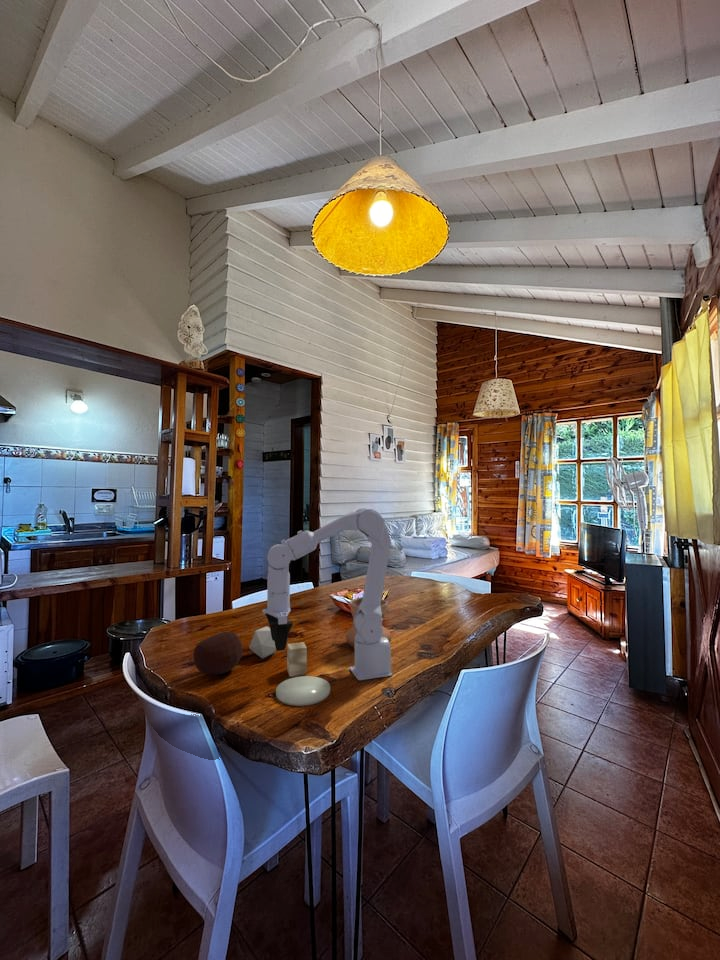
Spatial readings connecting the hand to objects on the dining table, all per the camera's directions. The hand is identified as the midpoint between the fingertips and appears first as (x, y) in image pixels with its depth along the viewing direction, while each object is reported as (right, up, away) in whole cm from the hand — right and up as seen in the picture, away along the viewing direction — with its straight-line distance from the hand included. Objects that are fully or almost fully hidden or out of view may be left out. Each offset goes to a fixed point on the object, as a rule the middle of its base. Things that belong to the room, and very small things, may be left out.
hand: (278, 644), depth 103 cm
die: (-8, -10, +17) cm, 21 cm away
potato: (-17, -10, +4) cm, 20 cm away
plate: (+7, -9, -6) cm, 13 cm away
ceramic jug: (+24, -11, +25) cm, 36 cm away
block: (+4, -10, +5) cm, 12 cm away
